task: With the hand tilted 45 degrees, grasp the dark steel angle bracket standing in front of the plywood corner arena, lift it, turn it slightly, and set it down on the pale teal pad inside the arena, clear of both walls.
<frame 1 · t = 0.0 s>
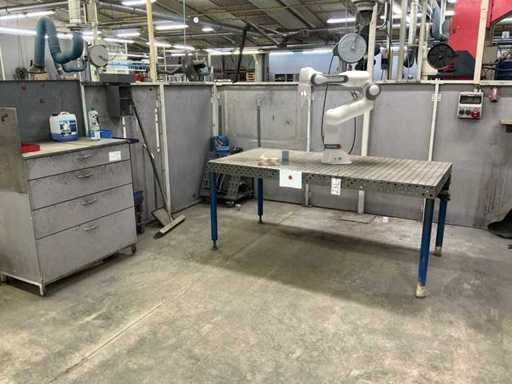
hand: (301, 109, 292), 39 cm above the table, tool pointing down, fingers open, 8 cm apart
bracket: (285, 163, 294), on the table
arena: (270, 163, 290), on the table
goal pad: (272, 163, 291), on the table
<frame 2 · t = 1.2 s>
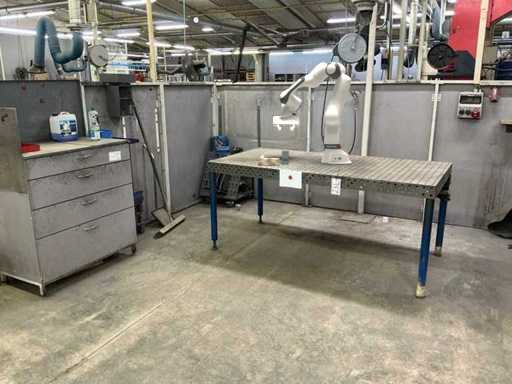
hand: (285, 130, 301), 23 cm above the table, tool tilted 45°, fingers open, 8 cm apart
nothing on the table moved.
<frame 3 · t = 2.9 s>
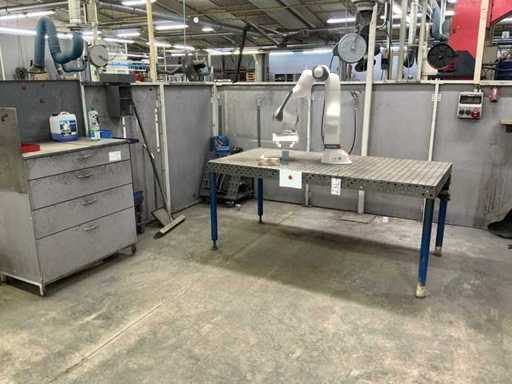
hand: (285, 147, 298), 11 cm above the table, tool tilted 45°, fingers open, 8 cm apart
nothing on the table moved.
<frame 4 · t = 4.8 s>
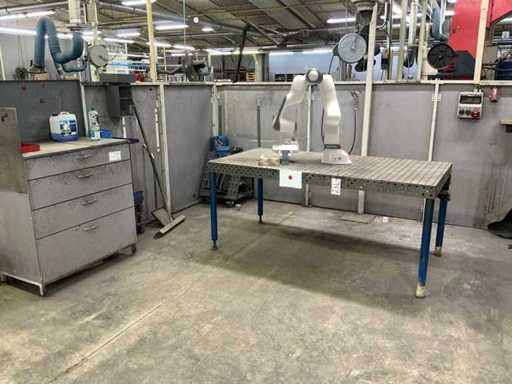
hand: (285, 156, 292), 5 cm above the table, tool tilted 45°, fingers closed on bracket, 5 cm apart
bracket: (285, 163, 294), on the table, touching gripper
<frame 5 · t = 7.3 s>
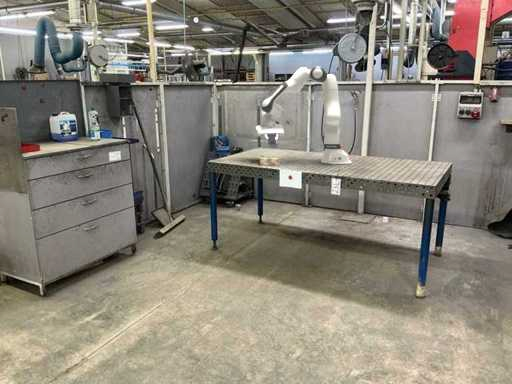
hand: (272, 139, 289), 17 cm above the table, tool tilted 45°, fingers closed on bracket, 5 cm apart
bracket: (271, 146, 290), point 12 cm above the table, touching gripper
when the fingers open (6 cm above the table, at t = 9.6 s): bracket drops 1 cm, resting on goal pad.
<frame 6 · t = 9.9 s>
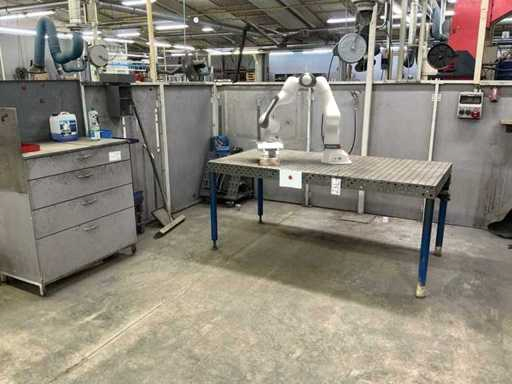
hand: (272, 154, 291), 6 cm above the table, tool tilted 45°, fingers open, 7 cm apart
bracket: (271, 162, 293), resting on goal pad
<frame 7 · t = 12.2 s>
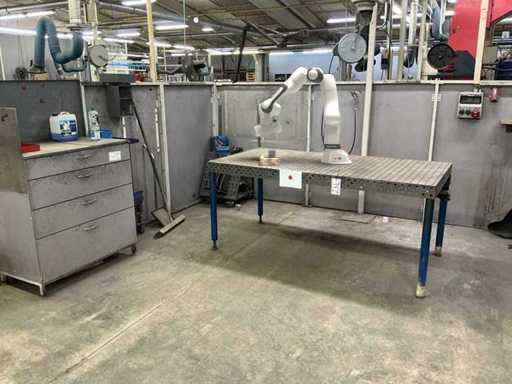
hand: (270, 139, 303), 16 cm above the table, tool tilted 30°, fingers open, 8 cm apart
nothing on the table moved.
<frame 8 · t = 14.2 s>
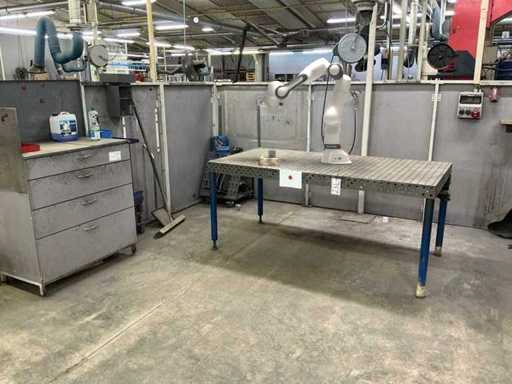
hand: (273, 121, 303), 29 cm above the table, tool pointing down, fingers open, 8 cm apart
nothing on the table moved.
at the end: bracket inside the target area (0.6 cm from its centre), resting on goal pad; bracket tilted 0°; bracket touching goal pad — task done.
